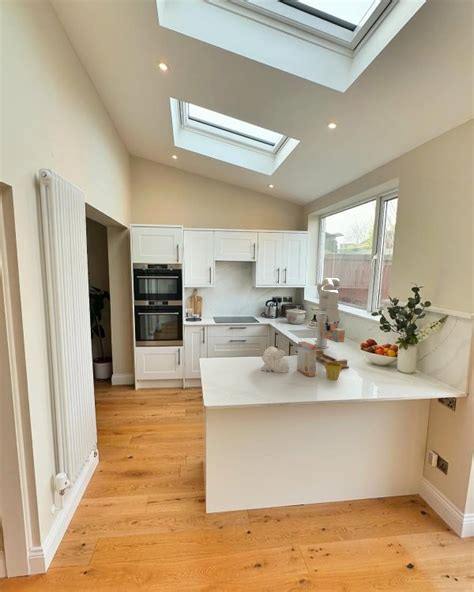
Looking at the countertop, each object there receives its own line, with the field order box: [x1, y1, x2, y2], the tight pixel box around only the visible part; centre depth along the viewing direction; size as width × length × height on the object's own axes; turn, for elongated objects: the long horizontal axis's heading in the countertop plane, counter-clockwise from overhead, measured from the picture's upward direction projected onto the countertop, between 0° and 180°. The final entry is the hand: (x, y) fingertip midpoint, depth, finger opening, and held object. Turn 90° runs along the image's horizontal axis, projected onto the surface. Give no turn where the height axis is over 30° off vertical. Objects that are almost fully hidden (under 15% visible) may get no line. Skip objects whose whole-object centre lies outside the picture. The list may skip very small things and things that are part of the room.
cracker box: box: [296, 340, 318, 378], centre depth 202 cm, size 14×6×21 cm, turn 23°
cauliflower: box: [260, 346, 290, 374], centre depth 207 cm, size 19×20×20 cm
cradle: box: [316, 349, 350, 370], centre depth 227 cm, size 30×12×6 cm, turn 23°
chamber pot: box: [285, 307, 307, 325], centre depth 390 cm, size 28×27×21 cm
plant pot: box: [324, 362, 342, 381], centre depth 194 cm, size 10×10×10 cm
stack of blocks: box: [320, 322, 346, 344], centre depth 227 cm, size 21×6×12 cm, turn 20°
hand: (331, 330), depth 227 cm, fingers closed on stack of blocks, 6 cm apart
